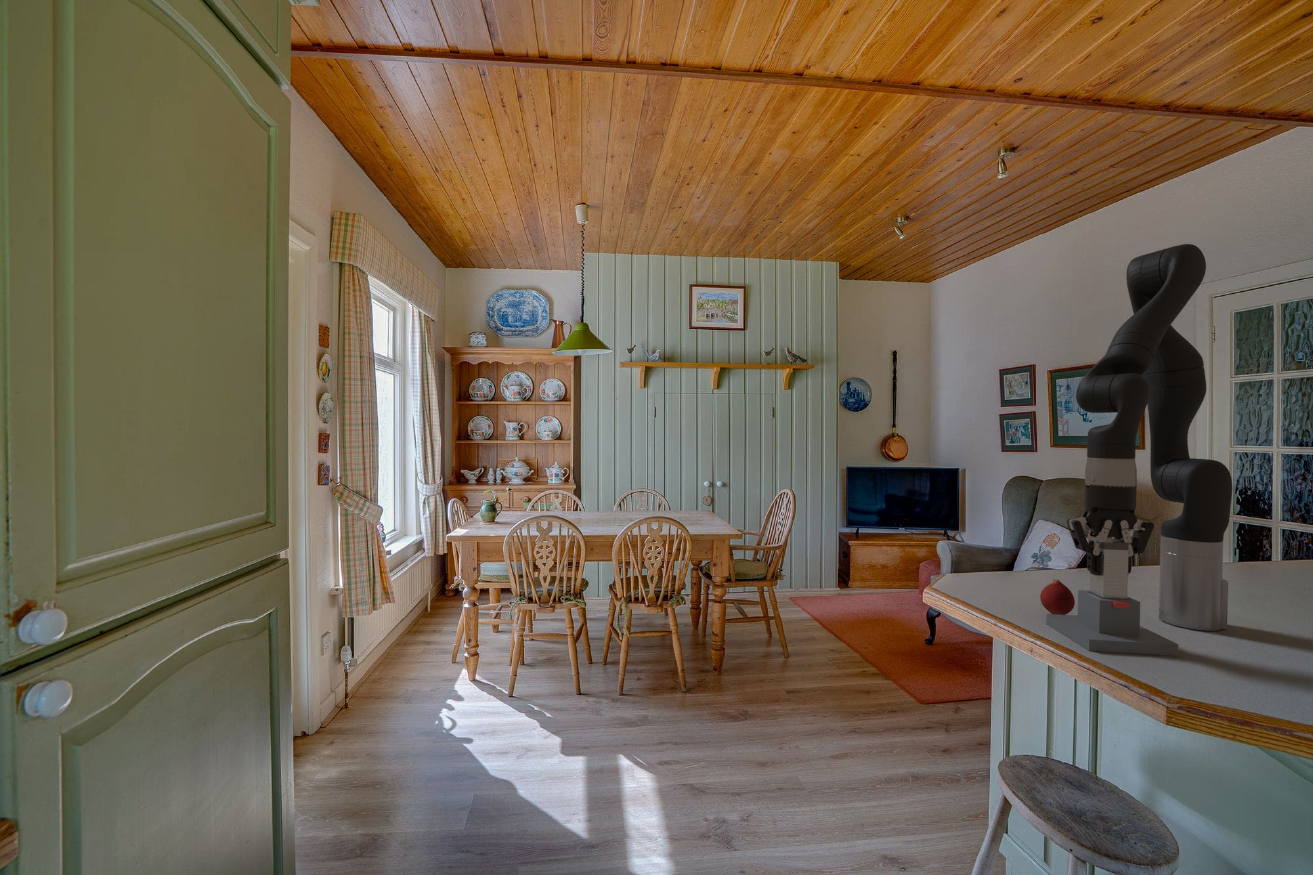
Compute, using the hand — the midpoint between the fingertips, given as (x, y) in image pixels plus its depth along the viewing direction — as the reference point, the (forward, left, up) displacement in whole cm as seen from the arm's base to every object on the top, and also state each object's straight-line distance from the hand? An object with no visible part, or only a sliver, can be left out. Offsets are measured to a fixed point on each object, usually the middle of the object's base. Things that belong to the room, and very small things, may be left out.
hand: (1108, 574), depth 106 cm
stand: (0, 0, -12) cm, 12 cm away
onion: (+3, -12, -12) cm, 17 cm away
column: (0, 0, -8) cm, 8 cm away
